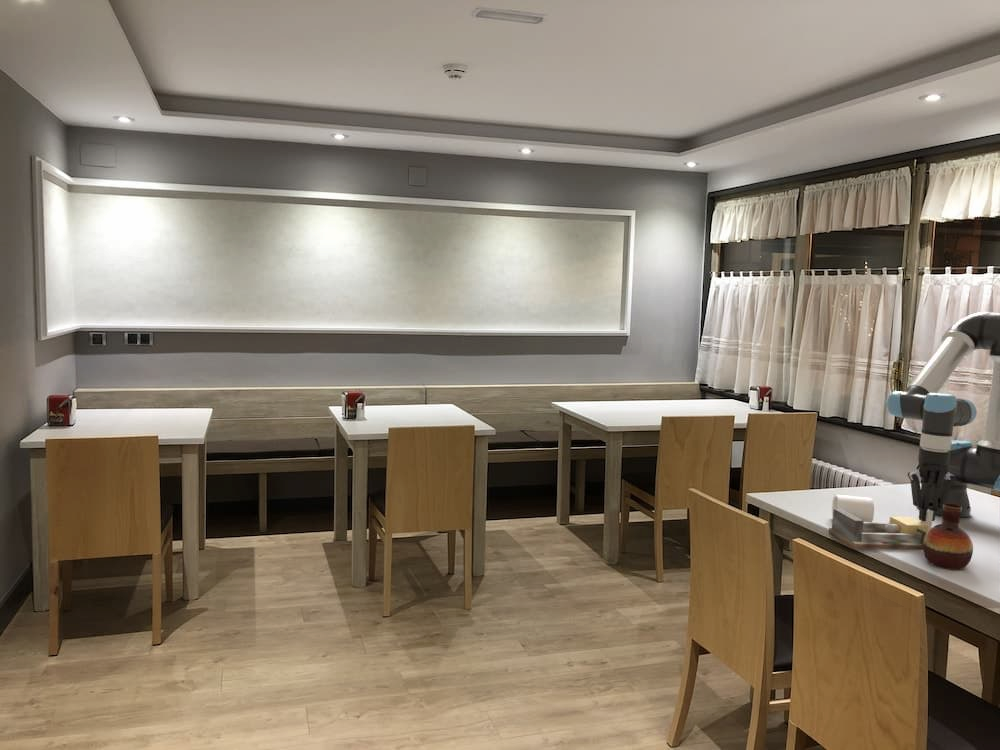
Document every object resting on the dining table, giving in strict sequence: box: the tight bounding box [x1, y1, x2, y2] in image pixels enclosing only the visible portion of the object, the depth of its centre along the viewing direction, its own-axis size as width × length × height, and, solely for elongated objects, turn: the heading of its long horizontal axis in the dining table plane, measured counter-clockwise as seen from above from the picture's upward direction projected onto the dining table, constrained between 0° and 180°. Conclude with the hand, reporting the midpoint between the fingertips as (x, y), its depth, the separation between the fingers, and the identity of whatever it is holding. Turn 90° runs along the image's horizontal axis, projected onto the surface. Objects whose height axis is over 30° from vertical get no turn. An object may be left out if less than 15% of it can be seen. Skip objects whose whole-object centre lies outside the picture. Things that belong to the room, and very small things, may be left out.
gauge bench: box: [828, 509, 923, 551], centre depth 215 cm, size 24×14×7 cm, turn 95°
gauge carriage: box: [885, 516, 928, 543], centre depth 214 cm, size 9×11×4 cm
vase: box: [922, 503, 974, 571], centre depth 197 cm, size 11×11×15 cm
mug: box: [831, 494, 875, 522], centre depth 234 cm, size 12×10×8 cm
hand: (925, 532), depth 216 cm, fingers closed
